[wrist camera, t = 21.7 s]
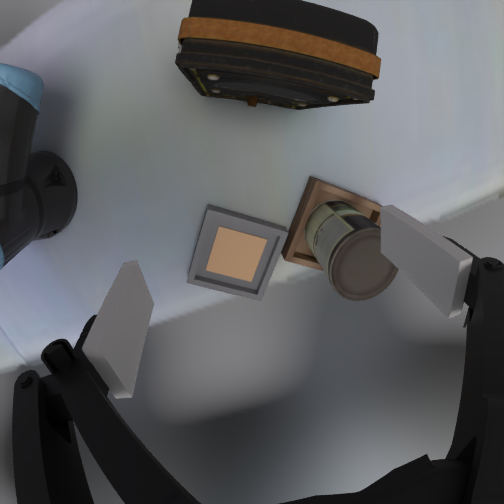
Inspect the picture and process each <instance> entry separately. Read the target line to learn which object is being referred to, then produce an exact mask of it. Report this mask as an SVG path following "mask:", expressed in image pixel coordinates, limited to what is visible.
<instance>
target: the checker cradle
mask: <svg viewBox="0 0 504 504" xmlns="http://www.w3.org/2000/svg"><path fill="white" fill-rule="evenodd" d="M288 233H289V232H288V231H287V229H286V227H283V226H280V225H276V224H273V223H270V222H266V221H263V220H260V219H256V218H253V217H249V216H246V215H243V214H239V213H236V212H232V211H229V210H225V209H222V208H218V207H215V206H211V205H208V208H207V211H206V214H205V218H204V221H203V225H202V228H201V232H200V235H199V239H198V242H197V246H196V249H195V253H194V256H193V260H192V264H191V267H190V271H189V275H188V280H187V283H190V284H194V285H198V286H202V287H206V288H210V289H214V290H218V291H222V292H226V293H230V294H234V295H238V296H243V297H247V298H252V299H255V300H260V301H261V300H262V297H263V295H264V292H265V290H266V288H267V285H268V283H269V280H270V278H271V275H272V273H273V271H274V268H275V266H276V263H277V261H278V258H279V256H280V253H281V251H282V248H283V246H284V243H285V241H286V238H287V236H288Z"/></svg>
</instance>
